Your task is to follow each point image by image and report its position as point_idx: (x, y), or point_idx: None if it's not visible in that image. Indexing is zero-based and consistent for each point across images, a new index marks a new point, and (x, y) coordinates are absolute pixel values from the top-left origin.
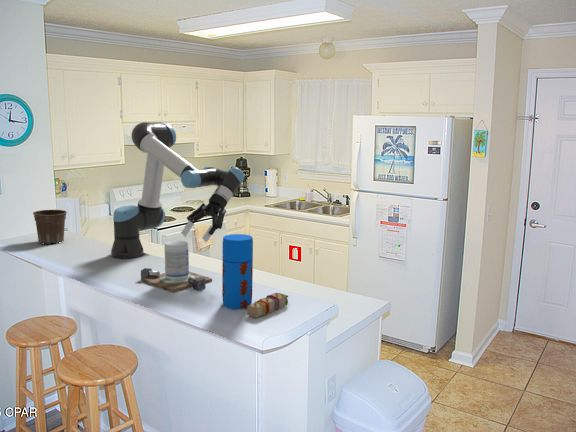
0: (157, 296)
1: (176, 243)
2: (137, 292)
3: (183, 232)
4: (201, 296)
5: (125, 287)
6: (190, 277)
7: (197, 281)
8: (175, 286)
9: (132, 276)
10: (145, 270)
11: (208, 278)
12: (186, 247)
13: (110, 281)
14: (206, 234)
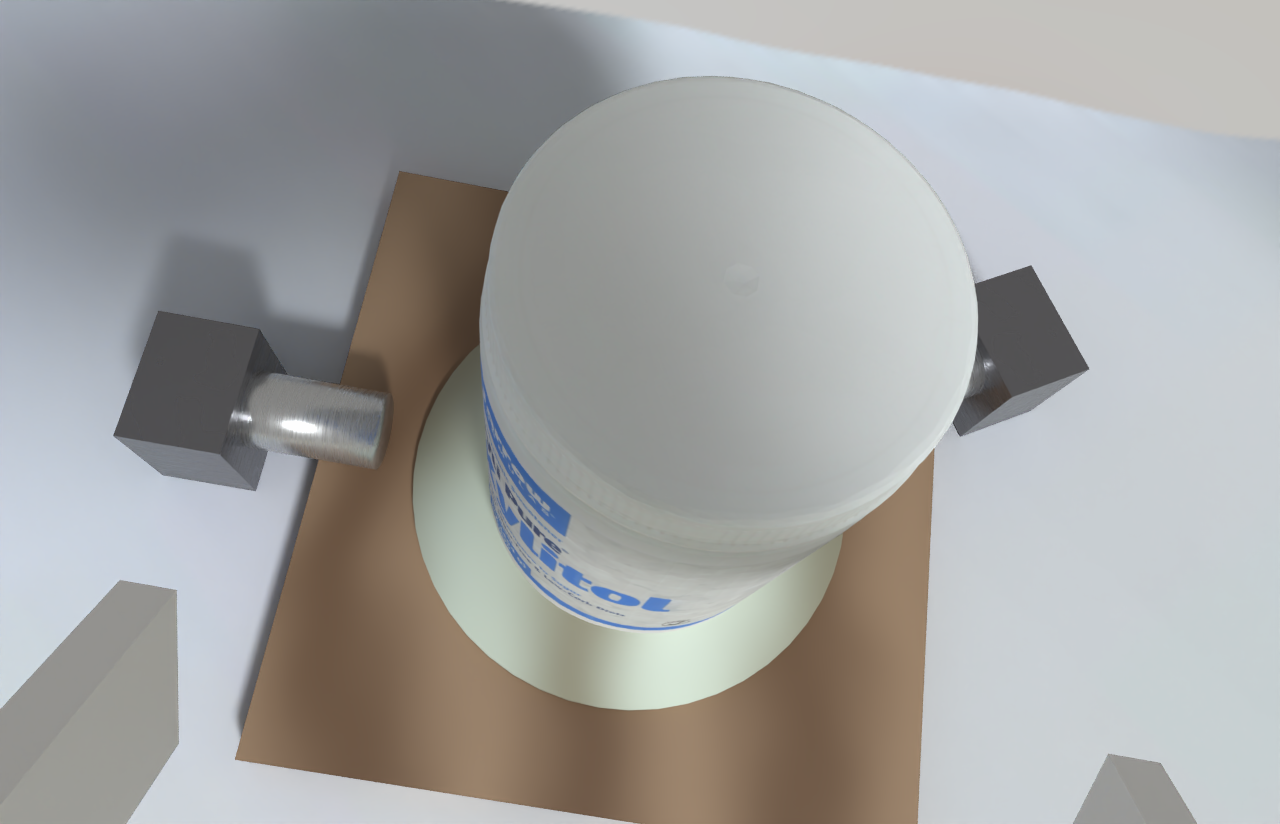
0: (460, 50)
1: (694, 237)
2: (698, 45)
3: (1110, 813)
4: (52, 245)
5: (899, 90)
6: (359, 409)
7: (162, 314)
8: (445, 257)
9: (1155, 363)
10: (1000, 300)
11: (281, 729)
12: (485, 346)
13: (1155, 144)
14: (19, 719)
